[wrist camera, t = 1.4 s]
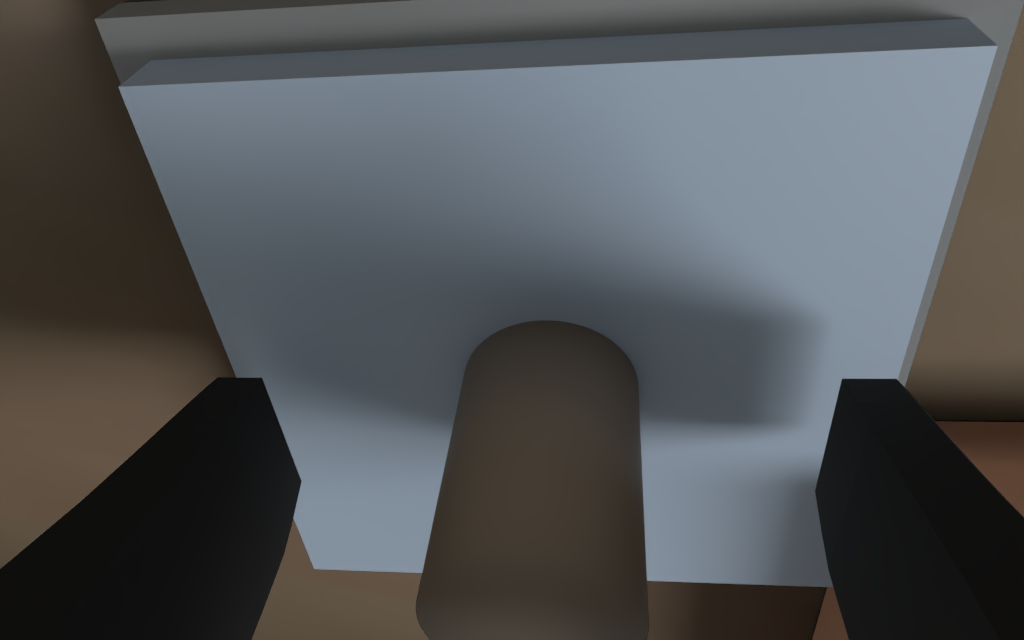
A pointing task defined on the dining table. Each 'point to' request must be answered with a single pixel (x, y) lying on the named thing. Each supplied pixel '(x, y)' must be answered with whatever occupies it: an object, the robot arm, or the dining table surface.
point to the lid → (566, 292)
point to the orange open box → (1001, 459)
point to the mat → (524, 39)
